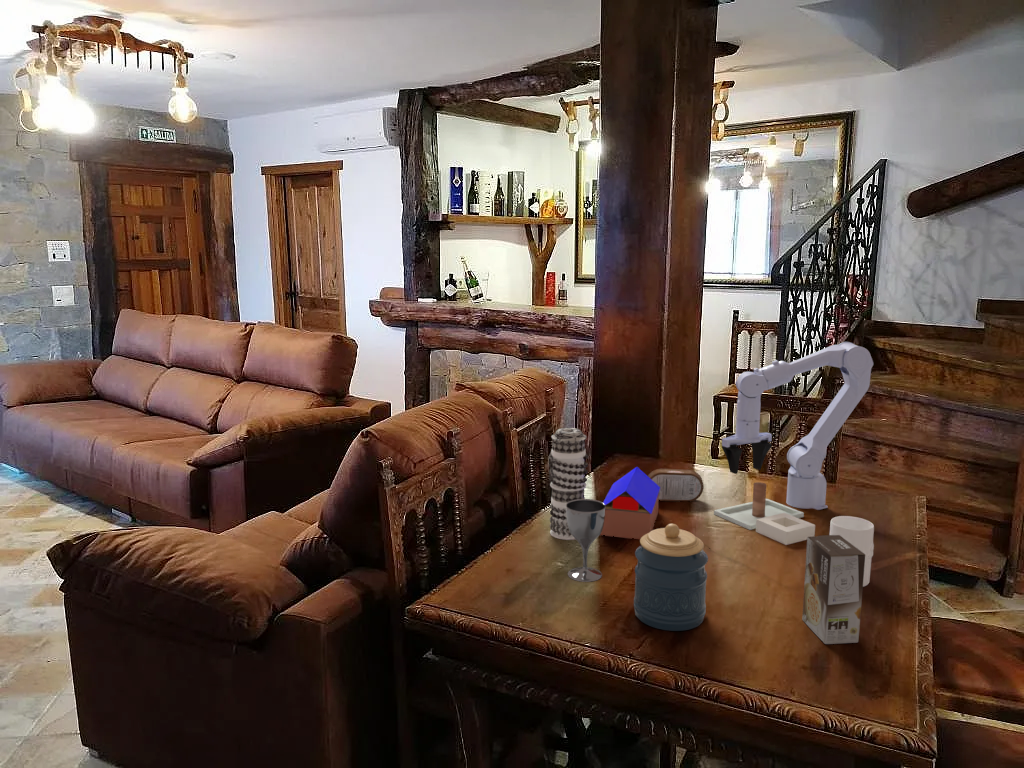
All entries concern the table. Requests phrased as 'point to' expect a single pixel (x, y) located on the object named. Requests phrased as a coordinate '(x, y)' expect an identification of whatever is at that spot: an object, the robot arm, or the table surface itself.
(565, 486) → the decorative candle
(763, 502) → the pin
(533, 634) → the table surface
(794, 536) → the cup block
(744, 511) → the tray
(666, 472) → the tin
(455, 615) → the table surface
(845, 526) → the mug
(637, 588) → the canister
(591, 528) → the wine glass
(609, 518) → the house
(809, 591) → the coffee box
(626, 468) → the table surface
